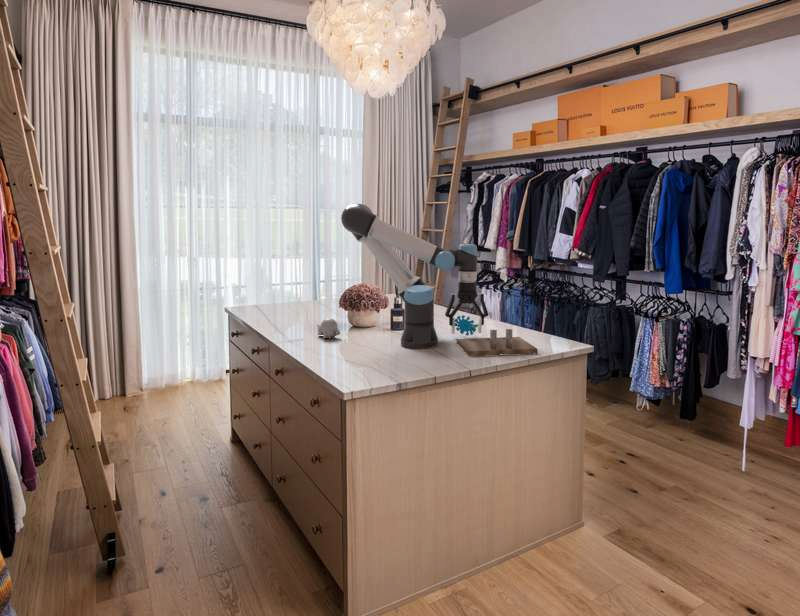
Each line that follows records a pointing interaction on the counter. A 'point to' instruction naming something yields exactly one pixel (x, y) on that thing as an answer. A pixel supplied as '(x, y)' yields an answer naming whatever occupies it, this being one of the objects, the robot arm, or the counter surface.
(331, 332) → the chubby cartoon animal
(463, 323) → the gear
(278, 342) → the counter surface
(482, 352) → the dowel plate
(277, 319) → the counter surface
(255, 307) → the counter surface
